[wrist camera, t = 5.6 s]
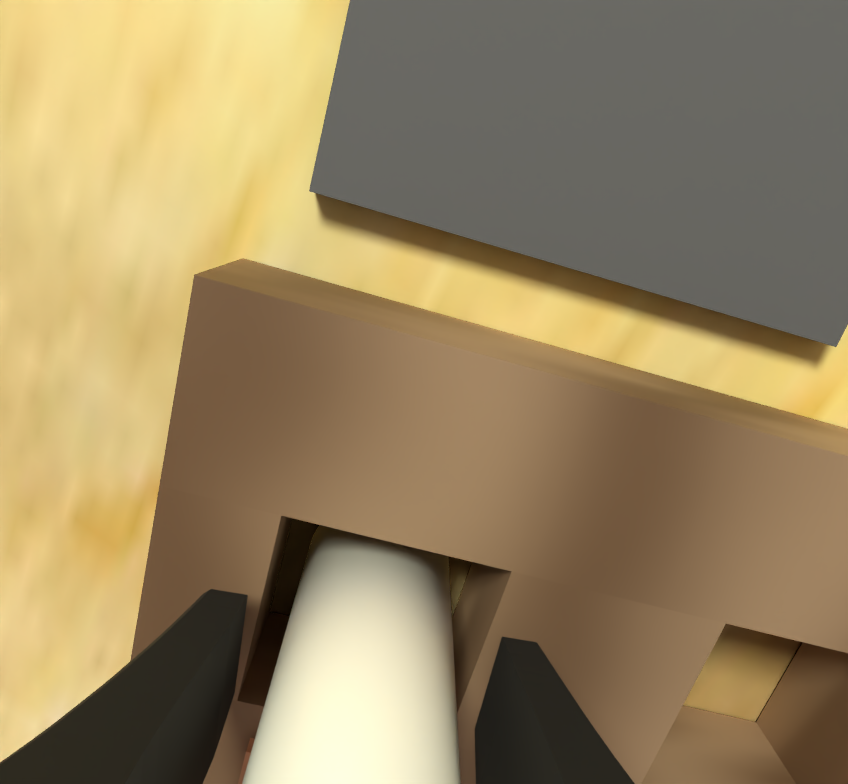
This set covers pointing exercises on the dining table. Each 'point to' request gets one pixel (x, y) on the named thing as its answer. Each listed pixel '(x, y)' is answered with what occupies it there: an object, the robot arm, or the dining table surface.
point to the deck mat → (612, 141)
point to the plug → (363, 671)
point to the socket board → (511, 516)
